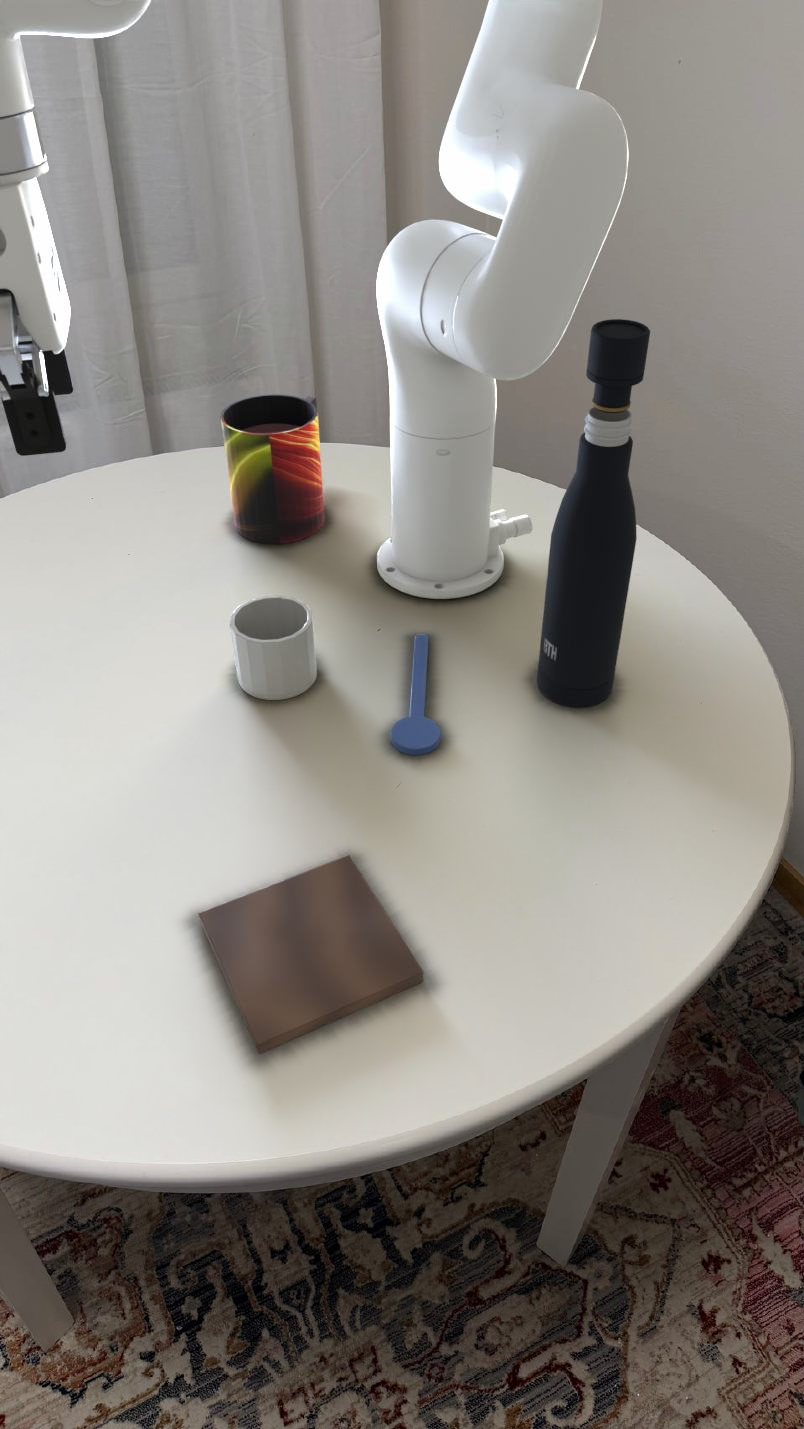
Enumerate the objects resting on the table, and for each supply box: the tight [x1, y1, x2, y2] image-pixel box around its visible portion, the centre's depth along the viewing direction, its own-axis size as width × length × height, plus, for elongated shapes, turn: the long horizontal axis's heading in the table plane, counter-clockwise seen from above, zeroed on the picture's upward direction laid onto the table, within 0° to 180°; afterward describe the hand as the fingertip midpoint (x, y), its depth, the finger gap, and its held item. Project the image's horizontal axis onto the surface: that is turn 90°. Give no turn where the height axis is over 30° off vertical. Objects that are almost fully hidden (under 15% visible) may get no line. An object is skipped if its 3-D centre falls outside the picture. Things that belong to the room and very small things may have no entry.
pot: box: [229, 595, 318, 701], centre depth 85 cm, size 7×7×6 cm
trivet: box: [197, 854, 424, 1055], centre depth 65 cm, size 11×11×1 cm
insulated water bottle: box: [536, 318, 651, 708], centre depth 76 cm, size 6×6×30 cm
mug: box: [220, 394, 326, 545], centre depth 105 cm, size 10×14×12 cm
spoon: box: [390, 634, 442, 756], centre depth 85 cm, size 16×4×1 cm, turn 177°
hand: (47, 421), depth 71 cm, fingers open, 9 cm apart
